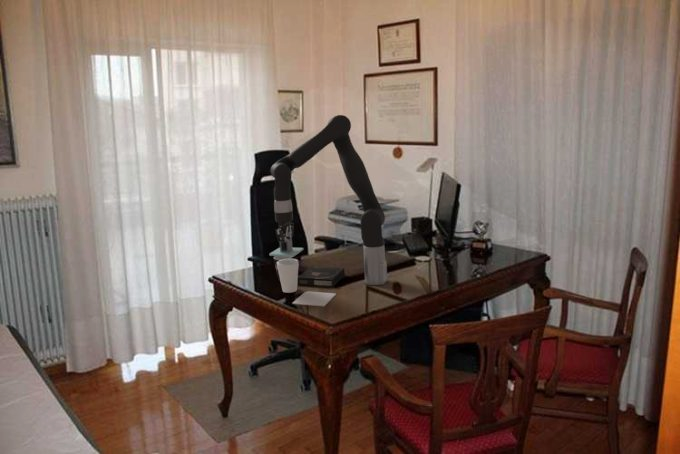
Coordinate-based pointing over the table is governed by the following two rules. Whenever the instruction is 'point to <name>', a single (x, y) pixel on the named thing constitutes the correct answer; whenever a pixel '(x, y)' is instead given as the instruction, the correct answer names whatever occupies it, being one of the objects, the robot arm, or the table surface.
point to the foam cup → (288, 274)
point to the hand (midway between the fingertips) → (286, 248)
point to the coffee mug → (278, 260)
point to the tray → (314, 298)
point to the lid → (289, 252)
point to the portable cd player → (321, 276)
